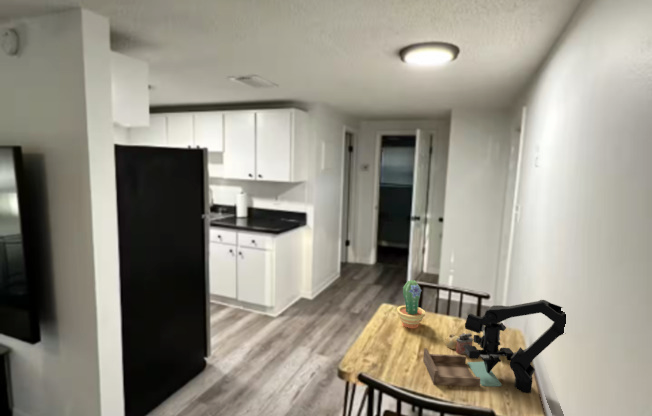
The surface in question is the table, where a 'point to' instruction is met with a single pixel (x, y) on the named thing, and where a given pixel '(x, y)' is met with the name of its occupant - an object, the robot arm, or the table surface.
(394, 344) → the table surface
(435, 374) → the truck bed
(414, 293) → the potted cactus
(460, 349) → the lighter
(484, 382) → the tailgate
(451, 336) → the onion
